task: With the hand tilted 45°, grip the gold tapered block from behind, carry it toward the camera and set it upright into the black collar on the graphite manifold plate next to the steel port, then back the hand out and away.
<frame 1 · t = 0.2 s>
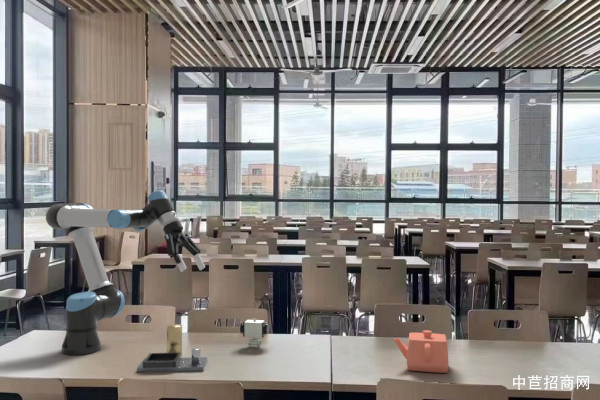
hand: (193, 269, 215), 35 cm above the table, tool tilted 35°, fingers open, 13 cm apart
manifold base: (173, 366, 202), on the table
pneumatic valve: (254, 346, 230), on the table
teapot: (420, 368, 201), on the table
gold tapered block: (174, 355, 216), on the table
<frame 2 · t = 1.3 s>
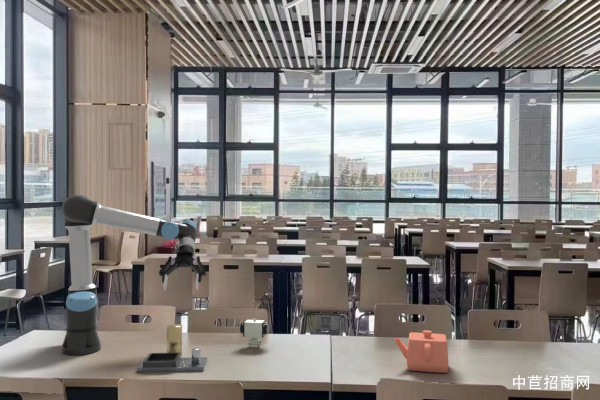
hand: (180, 288, 229), 25 cm above the table, tool tilted 45°, fingers open, 13 cm apart
nothing on the table moved.
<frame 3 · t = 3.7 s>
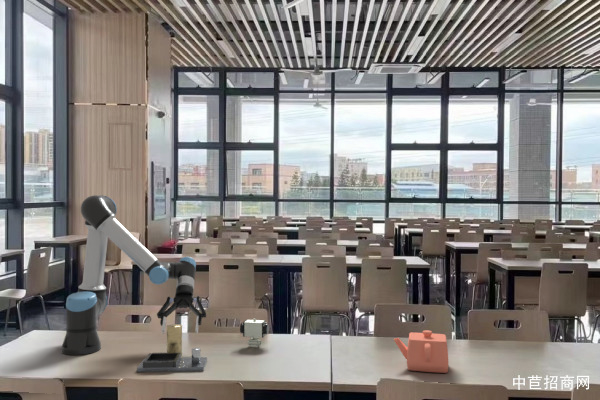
hand: (179, 331, 220), 9 cm above the table, tool tilted 45°, fingers open, 13 cm apart
nothing on the table moved.
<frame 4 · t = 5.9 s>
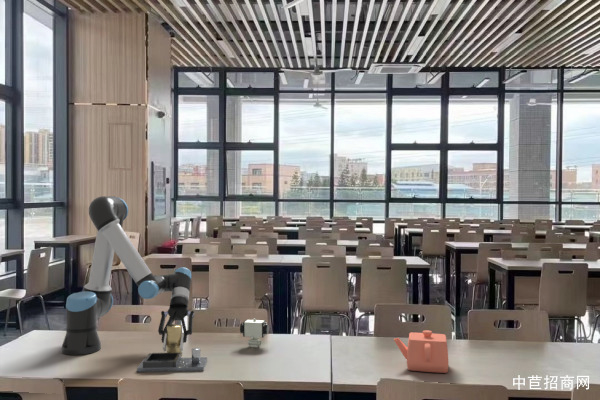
hand: (172, 349, 212), 4 cm above the table, tool tilted 45°, fingers closed on gold tapered block, 6 cm apart
gold tapered block: (174, 355, 216), on the table, touching gripper
everything else where it was.
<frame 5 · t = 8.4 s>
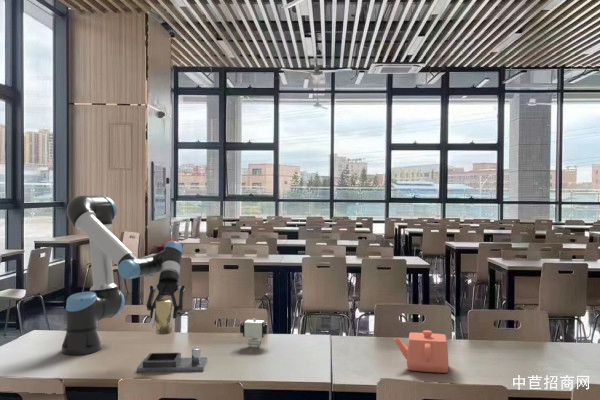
hand: (162, 325, 199), 16 cm above the table, tool tilted 45°, fingers closed on gold tapered block, 6 cm apart
gold tapered block: (163, 332, 202), point 13 cm above the table, touching gripper
everything else where it was.
when the fingers open (7 cm above the table, at t = 11.0 s): gold tapered block drops 2 cm, resting on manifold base.
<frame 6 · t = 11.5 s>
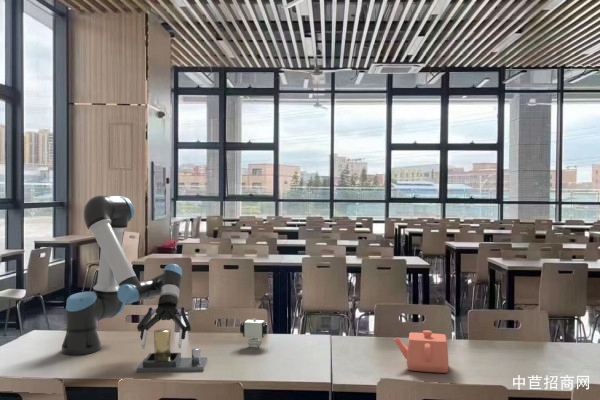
hand: (161, 346, 199), 8 cm above the table, tool tilted 45°, fingers open, 13 cm apart
gold tapered block: (162, 362, 202), point 2 cm above the table, touching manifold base
everything else where it was.
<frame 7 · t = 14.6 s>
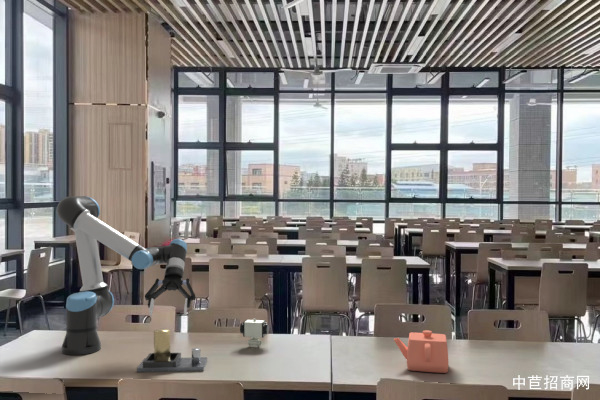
hand: (167, 314, 212), 18 cm above the table, tool tilted 45°, fingers open, 13 cm apart
nothing on the table moved.
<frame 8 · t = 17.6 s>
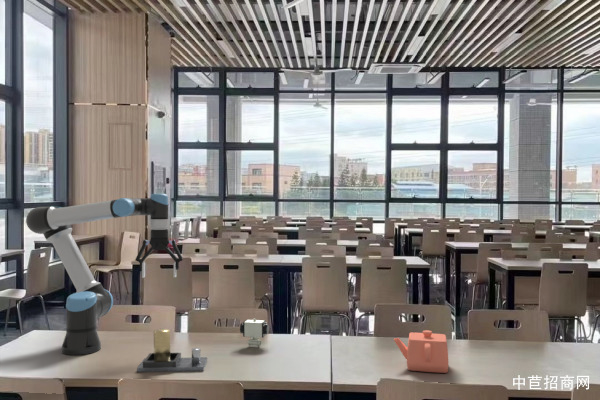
hand: (159, 277, 235), 29 cm above the table, tool pointing down, fingers open, 13 cm apart
nothing on the table moved.
at the end: gold tapered block 0.1 cm from the target spot on the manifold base, point 1.6 cm above the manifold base's base; gold tapered block tilted 1°; the gripper is holding nothing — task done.
